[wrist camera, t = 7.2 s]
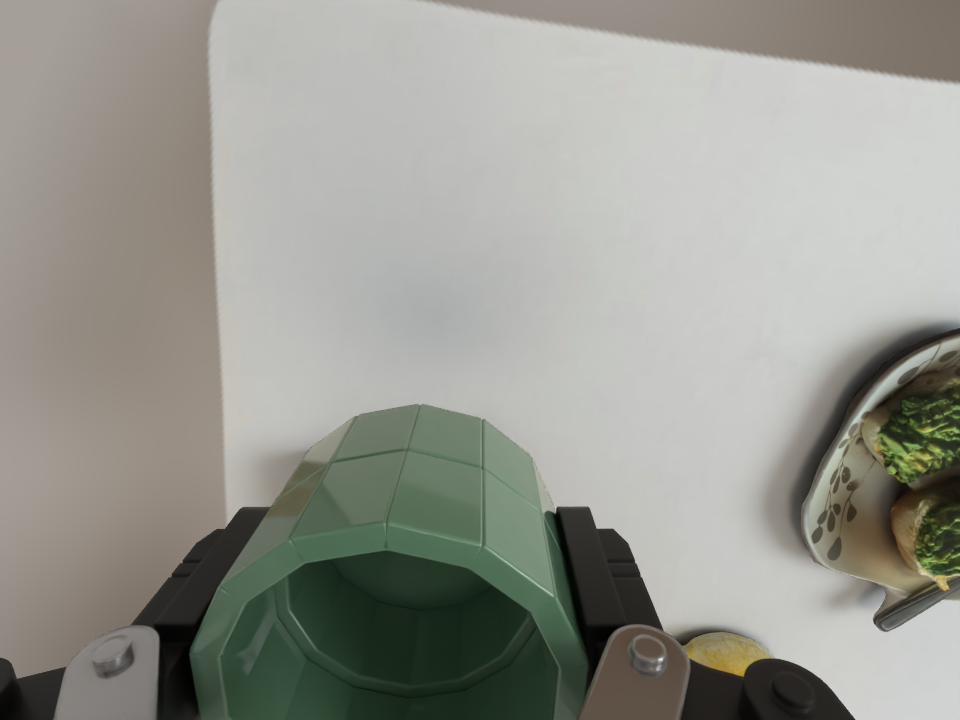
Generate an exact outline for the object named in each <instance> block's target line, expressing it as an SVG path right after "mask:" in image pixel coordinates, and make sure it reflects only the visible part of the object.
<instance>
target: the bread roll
mask: <svg viewBox="0 0 960 720" xmlns="http://www.w3.org/2000/svg"><path fill="white" fill-rule="evenodd" d="M682 647H683V648H684V649H685V651H686V653H687V655H688V657H689V658H690V659H692V660H694V661H695V662H697V663H700V664H702V665H704V666H707V667H710V668H714V669H717V670H721V671H725V672H728V673H732V674H736V675H739V676H743V677H744V673H745V670H746V668H747V667H748V666H749V665H750V664H751V663H753V662H754V661H757V660H760V659H766V658H773V659H775V658H774V657H773V655H772V654H771V653H770V652H769V651H768V650H767V649H765V648H764V647H763V646H761V645H760V644H758V643H757V642H755V641H753V640H751V639H749V638H746V637H743V636H739V635H736V634H731V633H727V632H716V633H708V634H704V635H700V636H698V637H695V638H693V639H692V640H690V642H689V643H688V644H687V645H683V646H682Z"/></svg>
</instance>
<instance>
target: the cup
mask: <svg viewBox="0 0 960 720" xmlns="http://www.w3.org/2000/svg"><path fill="white" fill-rule="evenodd" d="M189 658H190V664H191V670H192V676H193V681H194V687H195V693H196V698H197V704H198V710H199V716H200V719H201V720H576V719H577V717H578V714H579V712H580V709H581V707H582V704H583V702H584V699H585V697H586V690H587V682H588V674H589V661H588V656H587V652H586V647H585V643H584V638H583V634H582V629H581V625H580V620H579V616H578V611H577V607H576V602H575V598H574V593H573V589H572V584H571V580H570V575H569V571H568V568H567V562H566V557H565V553H564V548H563V544H562V539H561V535H560V530H559V526H558V521H557V517H556V512H555V508H554V504H553V502H552V500H551V497H550V495H549V493H548V491H547V489H546V486H545V484H544V482H543V480H542V478H541V476H540V473H539V471H538V469H537V467H536V465H535V462H534V460H533V458H532V457H531V456H530V454H528V453H527V452H526V451H524V450H523V449H522V448H521V447H519V446H518V445H517V444H516V443H514V442H513V441H512V440H510V439H509V438H508V437H507V436H505V435H504V434H503V433H502V432H500V431H499V430H498V429H496V428H495V427H494V426H493V425H491V424H490V423H489V422H488V421H486V420H485V419H483V420H482V419H481V418H478V417H474V416H470V415H466V414H462V413H458V412H453V411H449V410H445V409H441V408H437V407H433V406H429V405H425V404H422V405H419V404H414V405H409V406H403V407H398V408H392V409H386V410H381V411H375V412H369V413H364V414H360V415H358V416H355V417H353V418H352V419H350V420H349V421H347V422H346V423H345V424H343V425H342V426H340V427H339V428H338V429H336V430H335V431H333V432H332V433H331V434H329V435H328V436H327V437H325V438H324V439H322V440H321V441H320V442H318V443H317V444H315V445H314V446H313V447H311V449H310V450H309V451H308V452H307V453H306V455H305V456H304V458H303V460H302V461H301V463H300V464H299V466H298V467H297V469H296V470H295V472H294V473H293V475H292V476H291V478H290V479H289V481H288V482H287V484H286V485H285V487H284V488H283V490H282V491H281V493H280V494H279V496H278V497H277V499H276V500H275V502H274V503H273V505H272V506H271V507H270V509H269V510H268V512H267V514H266V515H265V517H264V518H263V520H262V521H261V523H260V524H259V526H258V527H257V529H256V530H255V532H254V533H253V535H252V536H251V538H250V539H249V541H248V542H247V544H246V545H245V547H244V548H243V550H242V551H241V553H240V554H239V556H238V557H237V559H236V560H235V562H234V563H233V565H232V566H231V568H230V569H229V571H228V572H227V574H226V575H225V577H224V578H223V580H222V581H221V583H220V584H219V586H218V588H217V590H216V592H215V594H214V596H213V599H212V601H211V603H210V605H209V607H208V610H207V612H206V614H205V616H204V618H203V621H202V623H201V625H200V627H199V630H198V632H197V634H196V636H195V638H194V641H193V643H192V645H191V647H190V653H189Z"/></svg>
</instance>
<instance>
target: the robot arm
mask: <svg viewBox="0 0 960 720" xmlns="http://www.w3.org/2000/svg"><path fill="white" fill-rule="evenodd" d="M269 509H270V507H242V508H241V509H240V510H239V511H238V512H237V514H236V515H235V516H234V518H233V519H232V520H231V522H230V523H229V524H228V526H227V527H226V528H225V529H217V530H215V531H213V532H212V533H211V534H209V535H208V536H206V537H205V538H203V539H202V540H201V541H199V542H198V543H196V545H195V546H194V547H193V548H192V549H191V551H190V552H189V553H188V554H187V556H186V557H185V558H184V559H183V563H182V564H181V563H180V564H179V566H178V567H177V568H176V569H175V571H174V572H173V573H172V577H171V578H168V579H167V581H166V582H165V583H164V584H163V585H162V587H161V588H160V589H159V591H158V592H157V593H156V594H155V595H154V597H153V598H152V599H151V601H150V602H149V603H148V604H147V605H146V607H145V608H144V609H143V610H142V612H141V613H140V614H139V616H138V617H137V618H136V619H135V620H134V622H133V623H132V624H131V625H130V626H126V627H122V628H118V629H115V630H113V631H110V632H108V633H105V634H103V635H101V636H100V637H98V638H96V639H94V640H93V641H91V642H90V643H88V644H87V645H86V646H84V647H83V648H82V649H81V650H80V651H79V652H78V653H77V654H76V655H75V656H74V657H73V658H72V659H71V661H70V662H69V664H68V665H67V667H64V668H59V669H56V670H51V671H47V672H43V673H39V674H35V675H31V676H27V677H23V678H19V679H17V678H16V675H15V672H14V669H13V667H12V664H11V663H10V662H9V661H8V660H6V659H3V658H0V720H201V719H200V716H199V710H198V704H197V698H196V693H195V687H194V681H193V676H192V670H191V664H190V658H189V653H190V647H191V645H192V643H193V641H194V638H195V636H196V634H197V632H198V630H199V627H200V625H201V623H202V621H203V618H204V616H205V614H206V612H207V610H208V607H209V605H210V603H211V601H212V599H213V596H214V594H215V592H216V590H217V588H218V586H219V584H220V583H221V581H222V580H223V578H224V577H225V575H226V574H227V572H228V571H229V569H230V568H231V566H232V565H233V563H234V562H235V560H236V559H237V557H238V556H239V554H240V553H241V551H242V550H243V548H244V547H245V545H246V544H247V542H248V541H249V539H250V538H251V536H252V535H253V533H254V532H255V530H256V529H257V527H258V526H259V524H260V523H261V521H262V520H263V518H264V517H265V515H266V514H267V512H268V510H269ZM556 517H557V521H558V526H559V530H560V535H561V539H562V544H563V548H564V553H565V557H566V562H567V568H568V571H569V575H570V580H571V584H572V589H573V593H574V598H575V602H576V607H577V611H578V616H579V620H580V625H581V629H582V634H583V638H584V643H585V647H586V652H587V656H588V661H589V674H588V682H587V690H586V697H585V699H584V702H583V704H582V707H581V709H580V712H579V714H578V717H577V719H576V720H855V719H854V717H853V716H852V715H851V714H850V712H849V711H848V710H847V709H846V707H845V706H844V705H843V704H842V702H841V701H840V700H839V699H838V697H837V696H836V695H835V693H834V692H833V691H832V690H831V689H830V688H829V687H828V685H827V684H825V683H824V682H823V681H822V680H821V679H820V678H819V677H817V676H816V675H814V674H813V673H812V672H810V671H808V670H807V669H805V668H803V667H801V666H799V665H797V664H794V663H791V662H789V661H785V660H781V659H773V658H766V659H760V660H757V661H754V662H753V663H751V664H750V665H749V666H748V667H747V668H746V670H745V673H744V677H743V676H739V675H736V674H732V673H728V672H725V671H721V670H717V669H714V668H710V667H707V666H704V665H702V664H700V663H697V662H695V661H694V660H692V659H690V658H689V657H688V655H687V653H686V651H685V649H684V648H683V647H682V646H681V644H680V643H679V642H678V641H677V640H676V639H675V638H673V637H672V636H671V635H669V634H668V633H666V632H664V630H663V628H662V626H661V623H660V621H659V618H658V616H657V613H656V611H655V608H654V606H653V603H652V601H651V599H650V596H649V594H648V591H647V589H646V586H645V584H644V581H643V579H642V578H641V576H640V572H639V569H638V567H637V564H636V563H635V559H634V557H633V554H632V552H631V549H630V547H629V545H628V543H627V542H626V541H625V540H624V539H623V538H622V537H621V536H620V535H619V534H618V533H617V532H616V531H615V530H614V529H596V526H595V523H594V520H593V517H592V514H591V511H590V508H589V507H557V509H556Z"/></svg>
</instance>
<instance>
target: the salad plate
mask: <svg viewBox="0 0 960 720" xmlns="http://www.w3.org/2000/svg"><path fill="white" fill-rule="evenodd" d="M801 534H802V536H803V538H804V541H805V544H806V546H807V548H808V550H809V553H810V556H811V557H812V559H813V560H814V561H815V562H816V563H818V564H820V565H822V566H824V567H826V568H828V569H831V570H834V571H836V572H840V573H843V574H846V575H850V576H853V577H856V578H860V579H865V580H869V581H872V582H874V583H876V584H878V585H880V586H882V587H883V588H884V589H885V592H886V596H885V599H884V601H883V603H882V605H881V607H880V608H879V609H878V611H877V612H876V613H875V615H874V617H873V621H874V624H875V625H876V626H877V627H878V628H879V629H880V630H881V631H884V632H888V631H890V630H892V629H895V628H897V627H899V626H900V625H902V624H904V623H905V622H907V621H908V620H910V619H912V618H913V617H915V616H917V615H918V614H920V613H922V612H923V611H925V610H927V609H928V608H930V607H931V606H933V605H935V604H936V603H938V602H940V601H941V600H951V601H959V600H960V328H958V329H955V330H952V331H949V332H946V333H943V334H940V335H937V336H934V337H932V338H929V339H927V340H924V341H922V342H920V343H918V344H915V345H913V346H911V347H909V348H907V349H906V350H904V351H903V352H901V353H900V354H898V355H897V356H895V357H894V358H892V359H891V360H889V361H888V362H887V363H886V364H885V365H883V366H882V367H881V368H880V369H879V370H878V371H877V372H876V373H875V374H874V376H873V377H872V378H871V379H870V380H869V381H868V382H867V383H866V384H865V385H864V386H863V387H862V388H861V389H860V390H859V391H858V393H857V394H856V395H855V397H854V398H853V399H852V401H851V402H850V404H849V406H848V408H847V411H846V414H845V418H844V421H843V423H842V425H841V427H840V429H839V431H838V433H837V435H836V437H835V438H834V440H833V441H832V443H831V444H830V446H829V448H828V450H827V452H826V453H825V455H824V456H823V458H822V460H821V462H820V465H819V467H818V469H817V472H816V474H815V477H814V480H813V483H812V486H811V489H810V491H809V493H808V495H807V497H806V499H805V500H804V502H803V505H802V510H801Z"/></svg>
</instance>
